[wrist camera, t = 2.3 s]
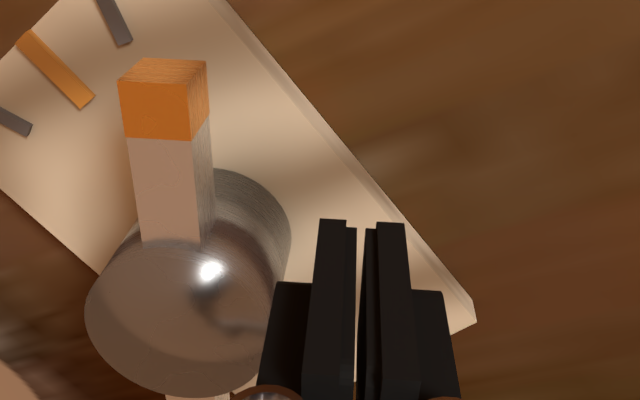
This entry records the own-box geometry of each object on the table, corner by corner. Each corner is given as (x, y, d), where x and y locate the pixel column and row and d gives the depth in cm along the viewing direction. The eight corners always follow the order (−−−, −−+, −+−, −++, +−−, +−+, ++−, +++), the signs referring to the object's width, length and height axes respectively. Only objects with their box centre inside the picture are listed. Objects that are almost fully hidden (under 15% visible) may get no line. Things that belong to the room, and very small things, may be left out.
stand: (472, 299, 27) (478, 326, 25) (273, 400, 31) (267, 428, 30) (154, -86, 20) (135, -81, 18) (-44, 114, 24) (-73, 132, 23)
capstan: (291, 379, 28) (272, 493, 23) (166, 368, 28) (121, 479, 23) (292, 34, 20) (263, 95, 15) (116, 25, 20) (29, 82, 15)
